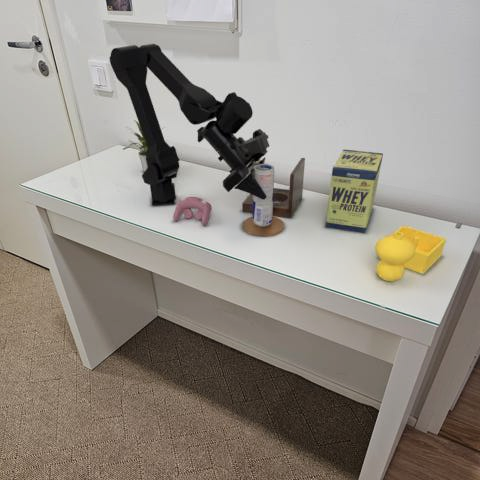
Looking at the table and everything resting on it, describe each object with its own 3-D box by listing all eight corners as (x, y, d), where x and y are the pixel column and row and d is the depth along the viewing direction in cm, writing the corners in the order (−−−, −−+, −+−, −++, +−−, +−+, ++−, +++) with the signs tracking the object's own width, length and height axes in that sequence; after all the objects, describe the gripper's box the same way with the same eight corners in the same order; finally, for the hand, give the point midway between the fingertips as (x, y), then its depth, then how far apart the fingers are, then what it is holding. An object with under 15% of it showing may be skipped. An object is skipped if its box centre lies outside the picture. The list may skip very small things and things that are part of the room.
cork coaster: (245, 238, 110) (245, 236, 110) (239, 218, 118) (239, 216, 118) (288, 234, 111) (288, 232, 111) (279, 215, 119) (279, 213, 119)
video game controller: (211, 226, 119) (214, 199, 117) (205, 226, 114) (208, 198, 113) (178, 221, 121) (181, 195, 120) (171, 221, 117) (173, 194, 115)
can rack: (242, 211, 122) (242, 203, 120) (256, 193, 131) (256, 185, 130) (291, 218, 118) (292, 209, 117) (302, 199, 128) (302, 191, 126)
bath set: (399, 242, 107) (409, 200, 100) (440, 256, 102) (454, 213, 95) (357, 276, 95) (365, 232, 89) (402, 294, 90) (414, 248, 83)
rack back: (287, 217, 118) (290, 174, 111) (298, 198, 128) (301, 157, 120) (291, 218, 118) (294, 174, 111) (301, 199, 128) (305, 157, 120)
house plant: (119, 170, 148) (109, 119, 138) (153, 160, 156) (146, 111, 145) (142, 181, 140) (134, 128, 130) (177, 170, 147) (171, 119, 137)
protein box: (324, 227, 114) (331, 168, 104) (335, 203, 125) (343, 148, 115) (365, 233, 111) (376, 173, 101) (373, 208, 122) (383, 152, 112)
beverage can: (272, 219, 116) (274, 163, 107) (271, 228, 112) (274, 170, 103) (253, 218, 116) (254, 162, 107) (251, 227, 113) (252, 170, 103)
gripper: (234, 132, 93) (282, 189, 97) (260, 110, 106) (301, 161, 110) (202, 165, 100) (248, 216, 104) (230, 141, 113) (270, 187, 117)
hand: (268, 194), depth 109 cm, fingers closed on beverage can, 5 cm apart
